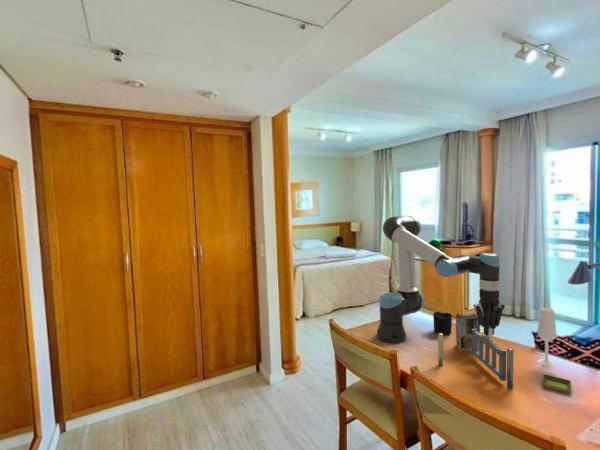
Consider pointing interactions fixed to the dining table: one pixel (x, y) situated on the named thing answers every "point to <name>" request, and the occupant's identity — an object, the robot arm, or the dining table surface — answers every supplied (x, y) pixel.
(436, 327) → the pen holder
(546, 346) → the champagne flute
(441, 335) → the post
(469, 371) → the dining table surface
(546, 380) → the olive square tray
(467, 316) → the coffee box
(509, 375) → the hinge post
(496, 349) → the gate
